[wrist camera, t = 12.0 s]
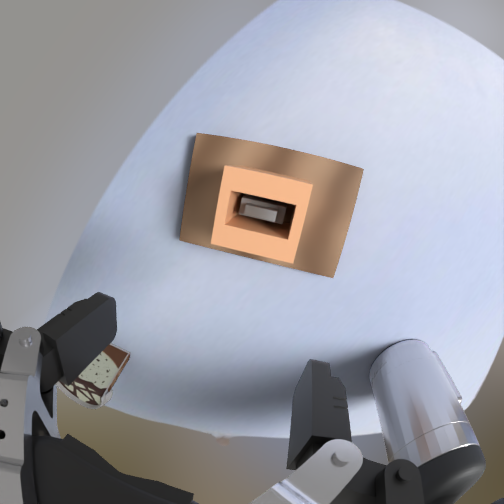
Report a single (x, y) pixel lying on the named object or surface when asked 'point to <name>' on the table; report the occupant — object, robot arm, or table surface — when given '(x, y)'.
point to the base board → (282, 162)
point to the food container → (97, 378)
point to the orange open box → (257, 230)
